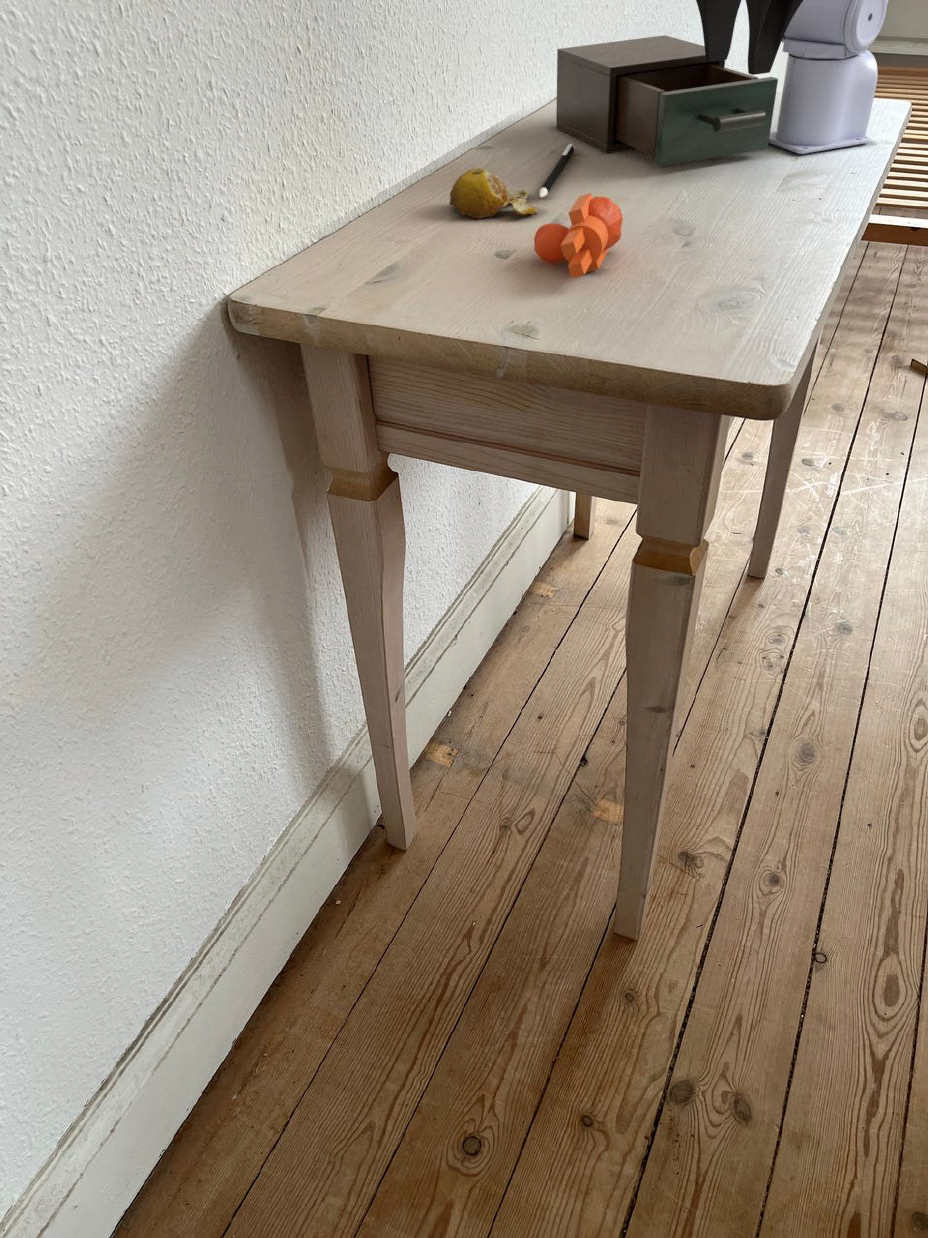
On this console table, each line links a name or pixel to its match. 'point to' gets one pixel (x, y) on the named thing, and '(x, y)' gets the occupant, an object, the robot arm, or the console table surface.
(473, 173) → the fruit
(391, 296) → the console table surface
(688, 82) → the drawer
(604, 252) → the orange chunky figure
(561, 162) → the pen
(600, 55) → the cabinet
